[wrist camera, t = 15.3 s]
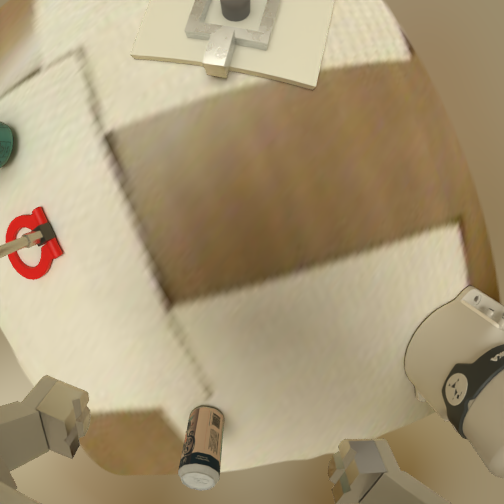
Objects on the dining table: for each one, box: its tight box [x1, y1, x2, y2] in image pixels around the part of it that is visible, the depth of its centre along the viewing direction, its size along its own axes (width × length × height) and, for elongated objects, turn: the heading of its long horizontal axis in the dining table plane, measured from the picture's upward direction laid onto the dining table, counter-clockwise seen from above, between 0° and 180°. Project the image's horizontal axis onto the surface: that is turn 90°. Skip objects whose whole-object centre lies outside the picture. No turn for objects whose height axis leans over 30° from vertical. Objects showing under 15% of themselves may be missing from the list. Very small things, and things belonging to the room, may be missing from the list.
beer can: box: [178, 407, 224, 490], centre depth 35 cm, size 5×5×12 cm
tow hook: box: [0, 207, 63, 280], centre depth 29 cm, size 8×13×9 cm
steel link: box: [184, 0, 280, 78], centre depth 26 cm, size 12×8×4 cm
